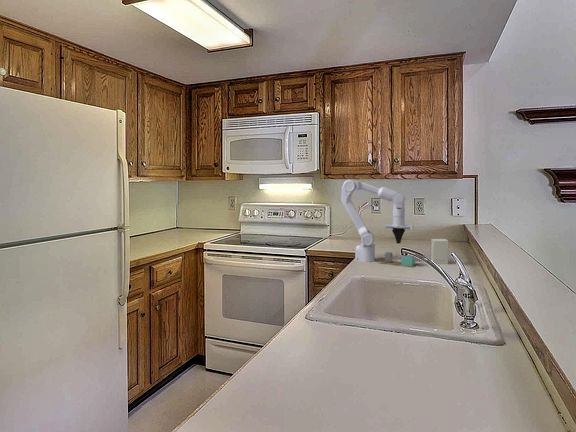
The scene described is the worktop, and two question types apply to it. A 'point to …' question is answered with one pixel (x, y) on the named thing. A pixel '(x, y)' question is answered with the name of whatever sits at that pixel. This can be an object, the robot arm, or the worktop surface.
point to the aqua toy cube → (408, 260)
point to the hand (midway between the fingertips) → (398, 243)
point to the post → (388, 257)
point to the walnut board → (396, 264)
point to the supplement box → (439, 251)
